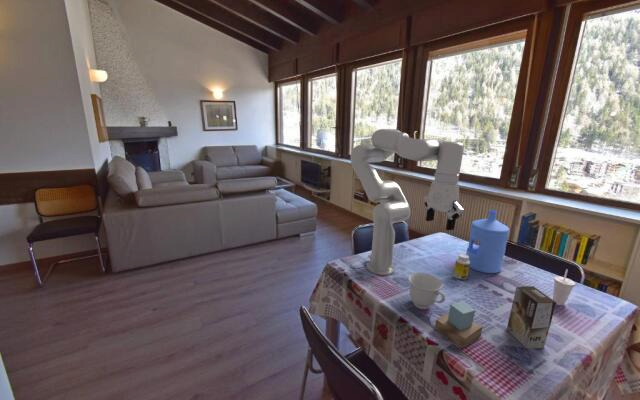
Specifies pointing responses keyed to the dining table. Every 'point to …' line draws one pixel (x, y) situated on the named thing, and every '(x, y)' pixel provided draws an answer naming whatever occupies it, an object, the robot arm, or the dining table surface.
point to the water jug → (487, 244)
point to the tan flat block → (458, 331)
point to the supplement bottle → (462, 266)
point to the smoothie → (562, 289)
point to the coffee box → (531, 316)
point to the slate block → (461, 315)
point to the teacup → (425, 290)
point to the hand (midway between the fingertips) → (439, 224)
